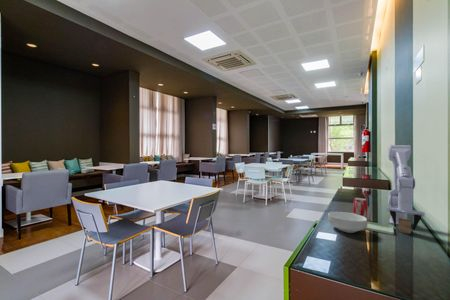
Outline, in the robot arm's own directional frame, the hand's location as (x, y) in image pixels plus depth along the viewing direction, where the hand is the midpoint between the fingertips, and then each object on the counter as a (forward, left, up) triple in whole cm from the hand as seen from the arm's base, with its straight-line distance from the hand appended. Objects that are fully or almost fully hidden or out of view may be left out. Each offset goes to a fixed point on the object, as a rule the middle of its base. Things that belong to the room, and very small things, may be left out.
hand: (404, 228), depth 110 cm
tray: (+4, -11, -2) cm, 11 cm away
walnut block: (0, 0, -2) cm, 2 cm away
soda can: (-8, -20, -2) cm, 21 cm away
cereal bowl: (+17, -24, -2) cm, 29 cm away
